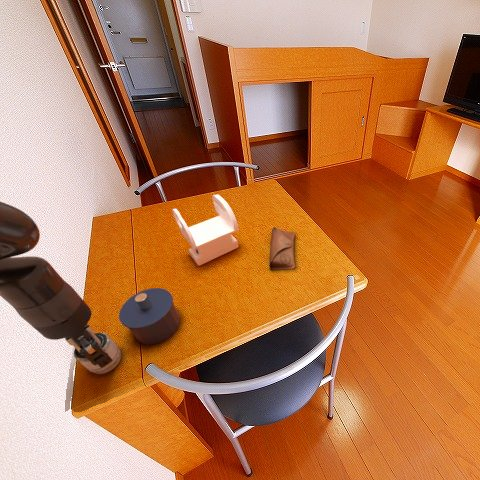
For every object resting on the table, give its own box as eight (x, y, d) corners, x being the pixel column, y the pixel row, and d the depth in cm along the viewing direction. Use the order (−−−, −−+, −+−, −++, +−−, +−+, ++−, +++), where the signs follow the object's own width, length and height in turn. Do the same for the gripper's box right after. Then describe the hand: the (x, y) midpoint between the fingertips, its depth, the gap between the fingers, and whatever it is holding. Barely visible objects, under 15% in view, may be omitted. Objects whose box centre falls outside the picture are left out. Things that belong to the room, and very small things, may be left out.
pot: (161, 349, 65) (150, 332, 60) (125, 338, 67) (111, 320, 62) (188, 314, 72) (180, 296, 68) (155, 304, 74) (145, 286, 69)
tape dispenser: (201, 271, 84) (185, 224, 72) (185, 249, 91) (167, 203, 80) (243, 251, 92) (234, 205, 80) (224, 232, 99) (214, 188, 87)
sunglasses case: (297, 267, 86) (285, 254, 82) (278, 276, 88) (265, 264, 84) (295, 231, 99) (285, 219, 95) (279, 240, 101) (268, 228, 97)
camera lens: (88, 380, 59) (68, 363, 54) (92, 355, 63) (73, 336, 58) (122, 368, 61) (105, 350, 56) (123, 344, 65) (108, 326, 60)
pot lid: (151, 336, 60) (143, 324, 57) (109, 323, 62) (99, 311, 59) (183, 296, 68) (178, 284, 65) (145, 286, 70) (138, 274, 67)
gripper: (15, 300, 50) (66, 347, 61) (42, 347, 44) (94, 389, 54) (64, 276, 55) (104, 323, 65) (95, 315, 48) (133, 360, 59)
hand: (99, 353), depth 60 cm, fingers closed on camera lens, 6 cm apart
